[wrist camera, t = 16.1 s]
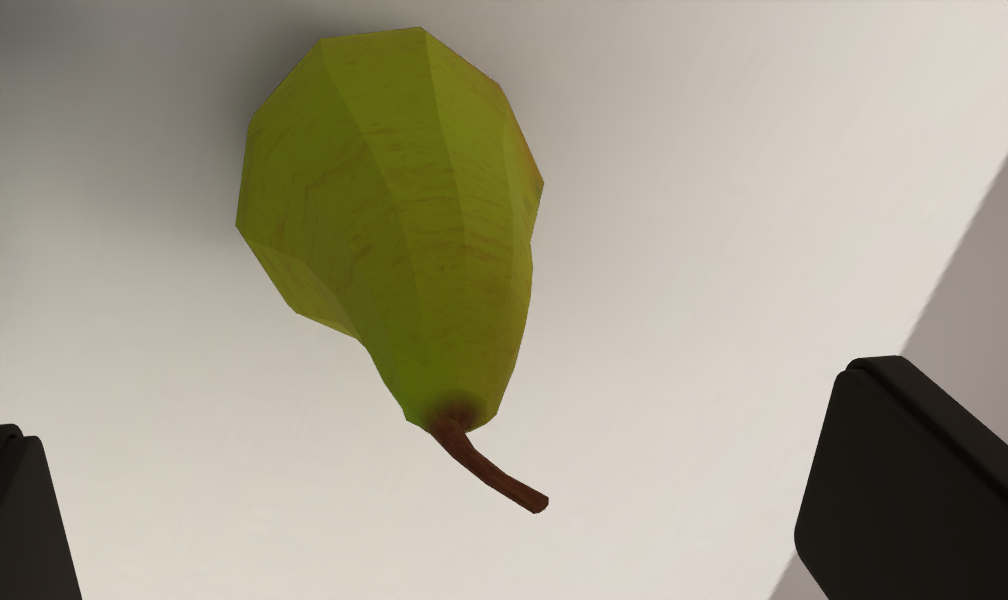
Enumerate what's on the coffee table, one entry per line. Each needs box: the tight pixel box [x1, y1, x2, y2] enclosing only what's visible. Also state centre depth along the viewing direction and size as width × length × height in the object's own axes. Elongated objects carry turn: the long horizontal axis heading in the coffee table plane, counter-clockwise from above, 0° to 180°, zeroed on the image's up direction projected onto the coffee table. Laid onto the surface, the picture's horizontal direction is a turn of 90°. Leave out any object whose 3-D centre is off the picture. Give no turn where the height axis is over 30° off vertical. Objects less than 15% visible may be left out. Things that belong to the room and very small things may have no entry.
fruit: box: [235, 27, 549, 514], centre depth 15 cm, size 6×6×12 cm
